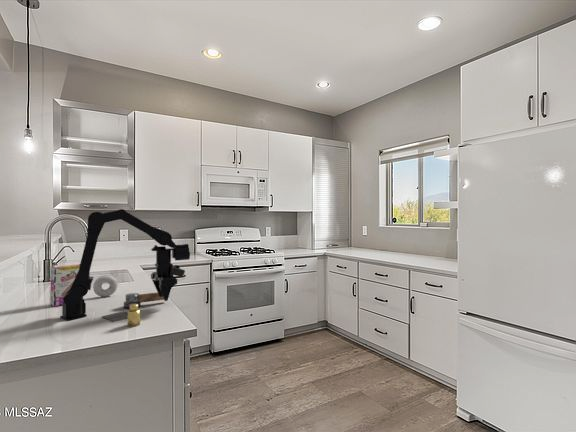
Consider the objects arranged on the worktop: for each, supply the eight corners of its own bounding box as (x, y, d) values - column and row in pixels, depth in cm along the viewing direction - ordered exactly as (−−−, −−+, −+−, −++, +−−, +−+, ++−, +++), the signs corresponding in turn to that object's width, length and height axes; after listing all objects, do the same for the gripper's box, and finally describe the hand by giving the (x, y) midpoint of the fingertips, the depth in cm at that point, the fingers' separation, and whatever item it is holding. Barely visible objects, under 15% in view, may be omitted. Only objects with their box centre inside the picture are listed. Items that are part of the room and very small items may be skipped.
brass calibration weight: (131, 327, 112) (131, 307, 111) (125, 325, 114) (125, 305, 114) (142, 324, 115) (142, 304, 115) (135, 322, 117) (135, 302, 117)
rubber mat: (113, 321, 117) (113, 320, 117) (101, 317, 122) (101, 316, 122) (136, 315, 124) (136, 314, 124) (123, 311, 129) (123, 310, 129)
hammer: (124, 308, 132) (124, 297, 132) (122, 304, 137) (122, 293, 137) (169, 302, 141) (169, 292, 141) (165, 299, 146) (166, 289, 146)
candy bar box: (54, 307, 134) (54, 267, 134) (49, 305, 137) (49, 266, 137) (84, 301, 143) (84, 263, 143) (79, 299, 146) (79, 262, 146)
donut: (93, 299, 147) (93, 276, 147) (92, 297, 150) (92, 275, 150) (118, 296, 153) (118, 274, 153) (117, 294, 156) (117, 273, 156)
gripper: (190, 262, 134) (190, 300, 134) (176, 257, 149) (176, 292, 149) (161, 264, 127) (161, 304, 127) (150, 259, 143) (150, 295, 143)
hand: (163, 298), depth 137 cm, fingers open, 8 cm apart
